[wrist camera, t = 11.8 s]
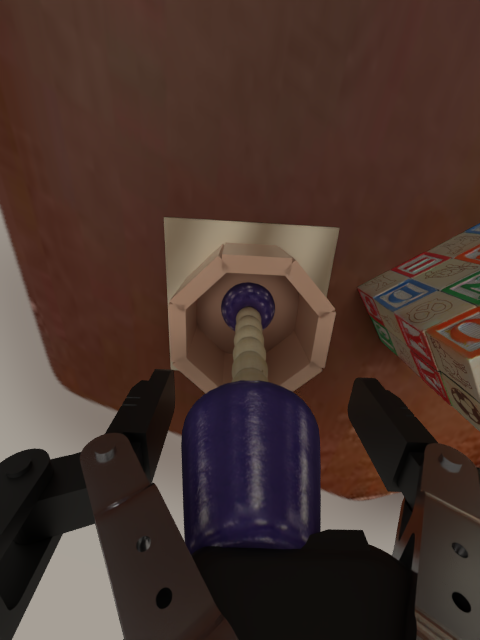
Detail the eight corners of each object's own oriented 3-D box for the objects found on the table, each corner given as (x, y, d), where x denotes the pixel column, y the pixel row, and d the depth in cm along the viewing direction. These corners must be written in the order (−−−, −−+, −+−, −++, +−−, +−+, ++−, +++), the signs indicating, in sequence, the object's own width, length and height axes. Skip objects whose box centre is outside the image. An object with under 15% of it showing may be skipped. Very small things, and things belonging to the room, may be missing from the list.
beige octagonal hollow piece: (316, 247, 20) (346, 261, 15) (297, 360, 24) (316, 405, 19) (184, 239, 20) (165, 250, 14) (187, 356, 24) (172, 400, 18)
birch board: (333, 227, 21) (339, 228, 20) (308, 368, 26) (311, 375, 25) (167, 217, 21) (163, 217, 19) (173, 363, 25) (170, 369, 24)
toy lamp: (248, 346, 22) (273, 646, 7) (202, 315, 21) (109, 589, 6) (285, 302, 21) (420, 558, 6) (238, 267, 20) (241, 460, 4)
